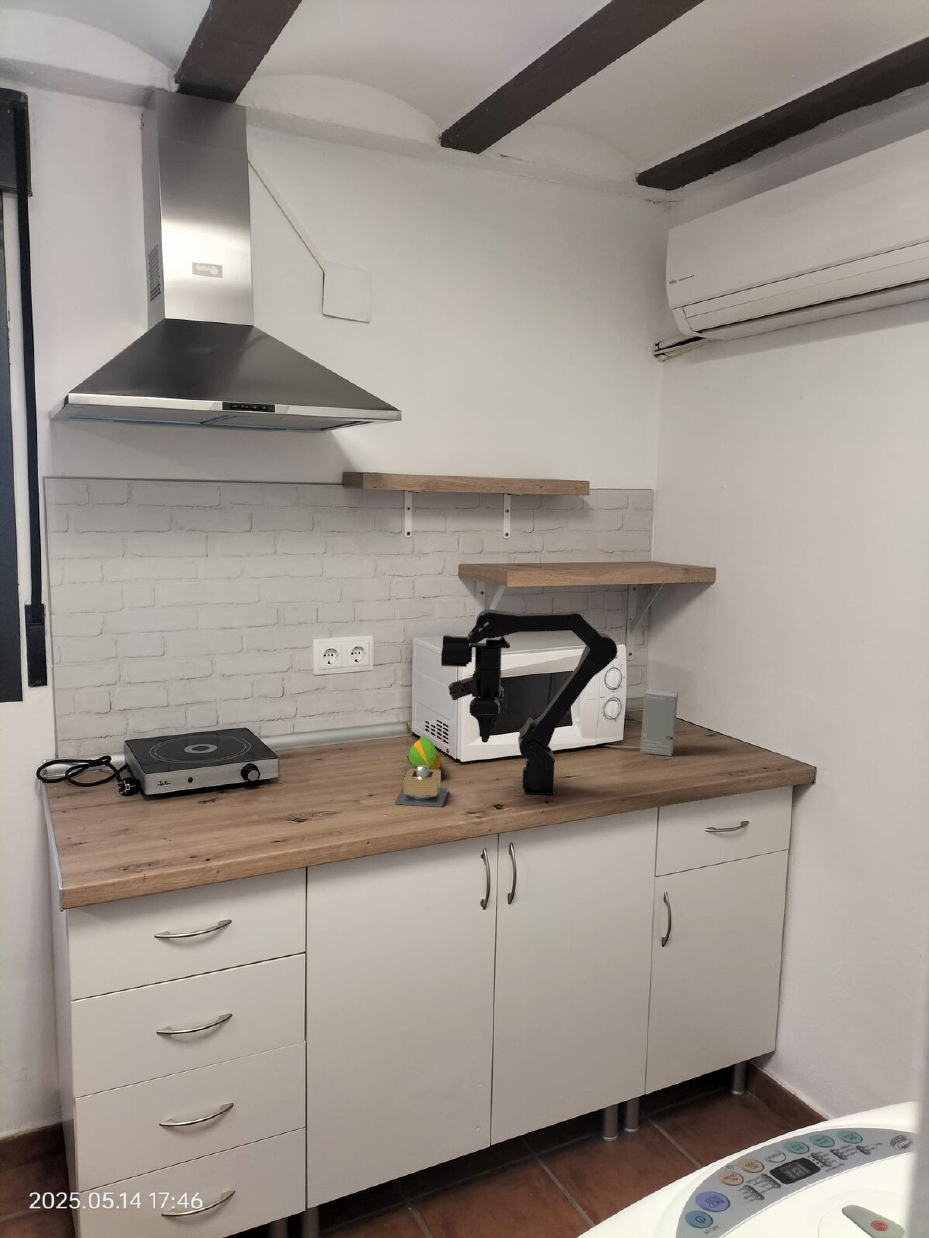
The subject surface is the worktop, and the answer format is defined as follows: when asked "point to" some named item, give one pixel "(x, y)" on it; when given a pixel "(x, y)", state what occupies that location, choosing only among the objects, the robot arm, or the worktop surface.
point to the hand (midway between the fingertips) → (486, 736)
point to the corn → (424, 754)
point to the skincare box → (658, 722)
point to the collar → (422, 783)
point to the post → (422, 799)
